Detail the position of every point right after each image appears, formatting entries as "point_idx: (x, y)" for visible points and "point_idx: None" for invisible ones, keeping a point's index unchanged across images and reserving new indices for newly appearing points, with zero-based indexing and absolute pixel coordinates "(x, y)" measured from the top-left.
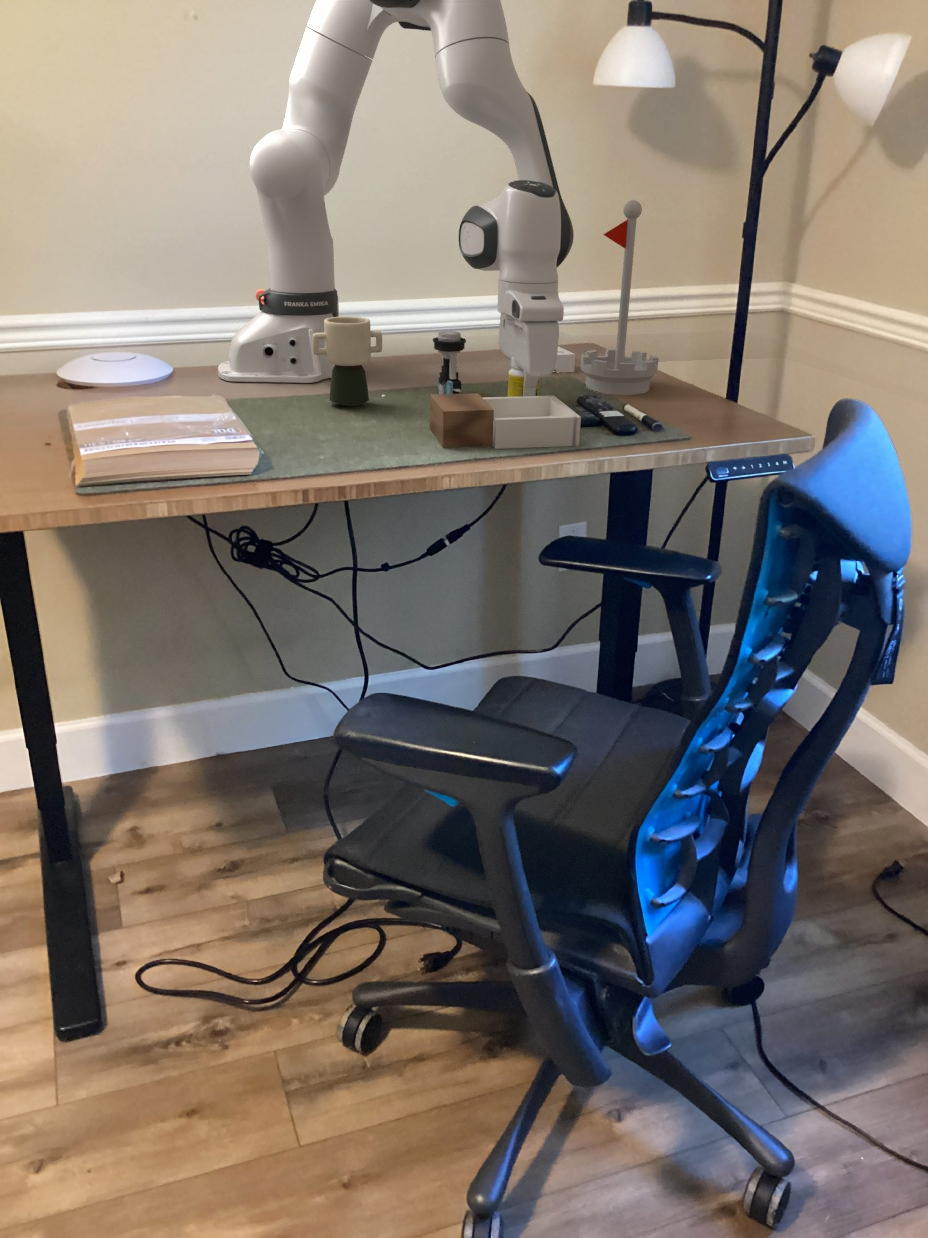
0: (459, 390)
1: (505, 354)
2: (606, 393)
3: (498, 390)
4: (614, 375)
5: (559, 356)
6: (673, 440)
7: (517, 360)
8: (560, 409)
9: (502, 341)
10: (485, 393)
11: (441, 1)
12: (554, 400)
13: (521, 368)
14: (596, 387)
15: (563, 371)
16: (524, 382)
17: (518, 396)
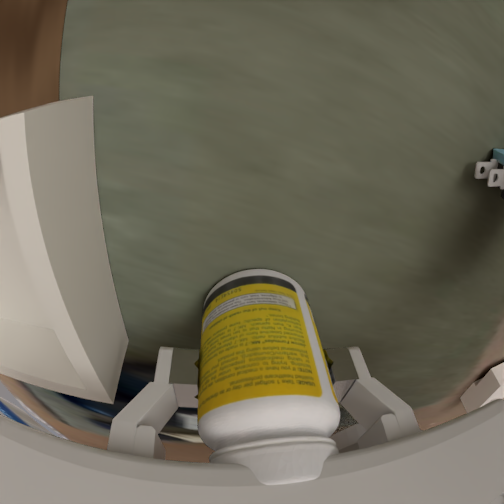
0: (493, 181)
1: (439, 430)
2: (342, 430)
3: (476, 298)
4: None
5: (480, 402)
6: (52, 412)
7: (182, 487)
8: (3, 358)
9: (490, 449)
10: (479, 265)
11: None
12: (51, 382)
13: (216, 451)
14: (363, 428)
15: (468, 390)
16: (144, 398)
17: (209, 337)
